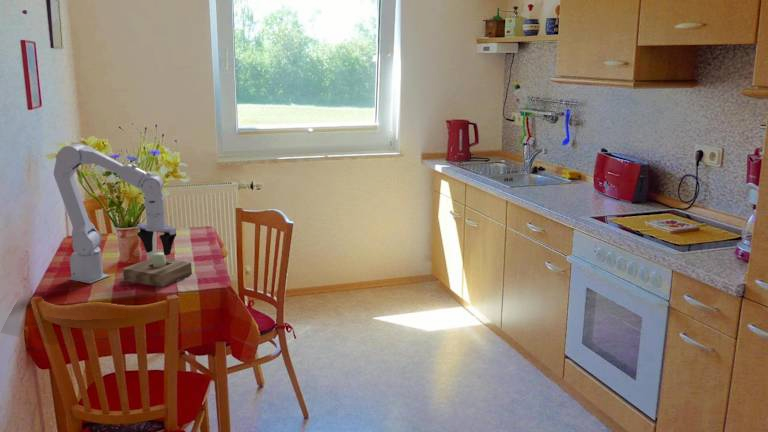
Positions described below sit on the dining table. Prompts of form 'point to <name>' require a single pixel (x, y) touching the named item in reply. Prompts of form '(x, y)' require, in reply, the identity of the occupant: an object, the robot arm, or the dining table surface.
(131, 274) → the socket board
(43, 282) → the dining table surface
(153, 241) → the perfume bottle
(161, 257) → the pale green block
